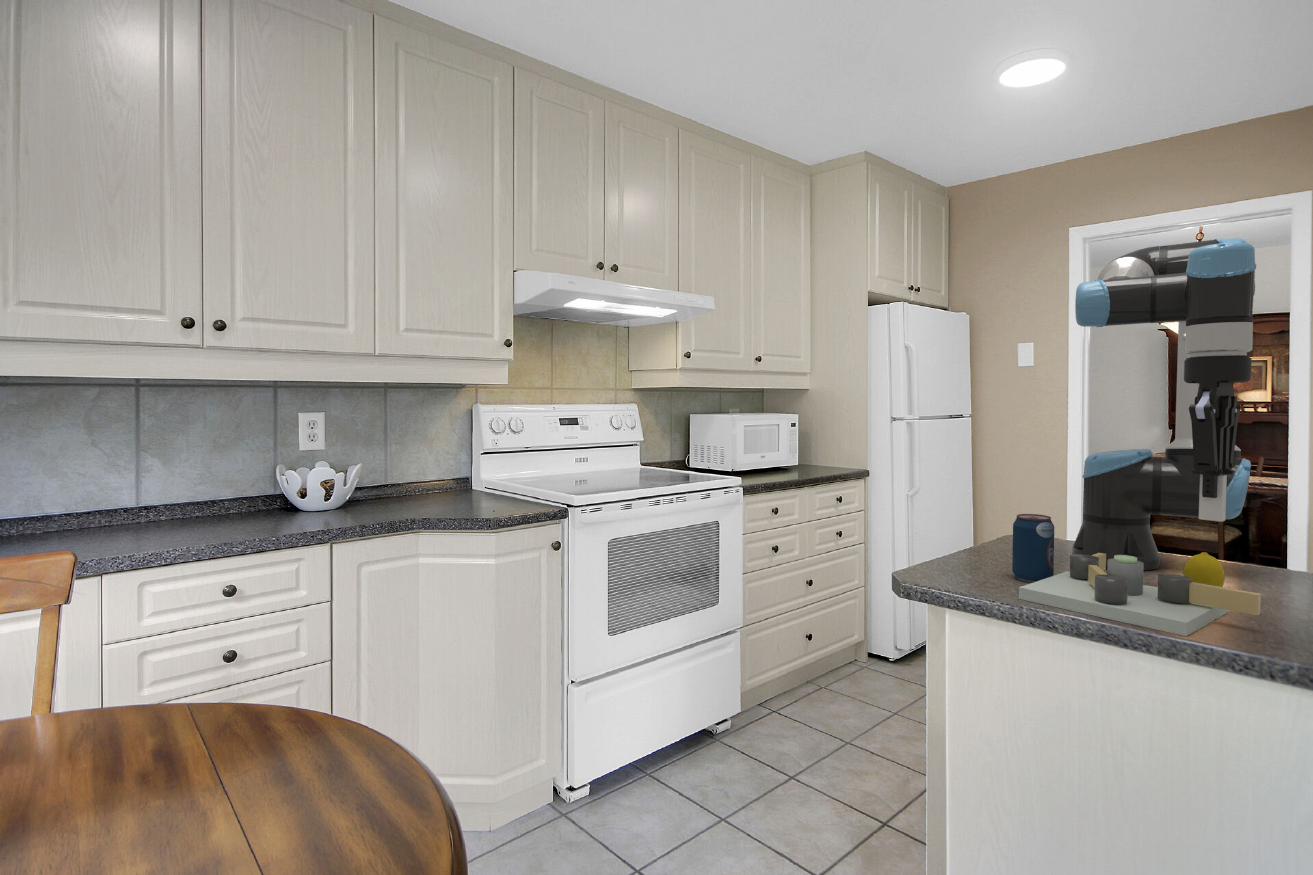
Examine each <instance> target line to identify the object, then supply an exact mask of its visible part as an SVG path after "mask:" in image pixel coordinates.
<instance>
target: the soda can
mask: <svg viewBox="0 0 1313 875" xmlns="http://www.w3.org/2000/svg"><path fill="white" fill-rule="evenodd" d="M1011 550H1012V553H1011V554H1012V555H1011V556H1012V561H1011V570H1012V573H1013V575H1014V577H1015V578H1016V579H1017V580H1019V581H1022V582H1027V583H1033V582H1037V581H1040V580H1043V579H1046V578H1049V577H1052V576H1054V571H1055V570H1054V569H1055V566H1054V565H1055V564H1054V562H1055V525H1054V523H1053V521H1052V517H1051V516H1049V515H1046V514H1045V515H1044V514H1039V513H1037V514H1036V513H1021V514H1016V519H1015V520H1014V522H1013V524H1012V549H1011Z"/></svg>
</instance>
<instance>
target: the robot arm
mask: <svg viewBox="0 0 1313 875" xmlns="http://www.w3.org/2000/svg"><path fill="white" fill-rule="evenodd" d="M1255 251H1256V250H1255V246H1253V245H1252V244H1251V243H1248V242H1247V241H1246V240H1245V239H1243V238H1239V237H1238V238H1223V239H1220V238H1214V239H1211V240H1201V241H1195V242H1194V241H1193V242H1187V243H1186V242H1185V243H1177V244H1167V245H1161V246H1160V245H1156V246H1155V245H1154V246H1149V247H1145V248H1140V249H1137V250H1134V251H1132V252H1131V251H1130V252H1129V253H1126V254H1124V255H1121V256H1119V257H1117V258H1115V259H1113V260H1112V261H1110V262H1109V263H1107V264H1106V265H1105V266H1104V267H1103V268H1102V269H1101V271H1100V272H1099V274H1098V276H1097V279H1095V280H1093V281H1085V282H1084V281H1083V282H1081V283H1079V284H1078V286H1077V287H1076V291H1075V300H1074V301H1075V304H1074V305H1075V308H1074V309H1075V310H1074V311H1075V312H1074V313H1075V321H1076V323H1077V325H1078V326H1080V327H1086V328H1087V327H1089V328H1090V327H1097V328H1103V327H1107V326H1109V327H1110V326H1123V325H1125V326H1126V325H1127V326H1128V325H1138V324H1161V323H1162V324H1163V323H1178V329H1177V330H1178V333H1177V336H1178V337H1177V364H1176V365H1177V367H1176V368H1177V369H1176V370H1177V371H1176V395H1175V396H1176V399H1175V400H1176V401H1175V430H1174V431H1175V434H1174V436H1175V438H1174V439H1173V441H1172V442H1171V443H1169V445H1167V446H1166V447H1165V452H1164V453H1165V456H1154V453H1153V452H1152V450H1151V449H1149V448H1140V449H1139V448H1138V449H1135V448H1133V449H1120V450H1119V449H1118V450H1109V451H1103V452H1102V451H1100V452H1096V453H1091V454H1090V455H1088V456H1086V458H1085V460H1084V464H1083V465H1084V467H1083V474H1082V479H1083V496H1082V523H1081V525H1080V529H1079V530H1078V533H1077V536H1076V538H1075V541H1074V543H1073V545H1072V549H1071V550H1072V551H1071V555H1073V554H1083V555H1094V554H1097V553H1104V554H1106V569H1107V566H1108V559H1113V558H1114V556H1115V555H1128V556H1134V557H1136V558H1137V561H1140V562H1142V563H1144V571H1151V570H1156V569H1158V568H1160V554H1159V550H1158V548H1157V545H1156V542H1155V539H1154V537H1153V533H1152V531H1151V521H1150V520H1151V515H1155V516H1157V515H1158V516H1165V517H1167V516H1169V517H1184V518H1195V519H1199V520H1201V521H1202V520H1204V521H1213V522H1225V521H1226V520H1232V519H1235V518H1237V517H1238V516H1240V514H1241V513H1242V510H1243V507H1244V505H1245V501H1246V497H1247V492H1248V488H1249V483H1250V482H1249V481H1250V478H1251V477H1250V476H1251V473H1250V472H1251V468H1252V463H1251V461H1250V460H1249V459H1246V458H1241V456H1242V453H1241V452H1242V451H1241V449H1240V447H1238V446H1237V445H1236V440H1237V430H1238V422H1239V418H1240V413H1241V410H1242V405H1241V403H1238V397H1237V396H1236V395H1235V388H1234V383H1236V384H1237V383H1238V384H1239V383H1240V384H1241V383H1249V381H1251V379H1252V360H1253V359H1252V358H1251V356H1250V355H1248V354H1247V353H1250V352H1251V351H1253V342H1254V341H1253V336H1254V334H1253V333H1254V332H1253V331H1254V321H1253V310H1254V296H1255V295H1256V293H1255V292H1256V281H1255V278H1256V277H1255V275H1256V274H1255V273H1256V272H1255V271H1256V269H1257V263H1256V253H1255Z"/></svg>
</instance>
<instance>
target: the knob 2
mask: <svg viewBox="0 0 1313 875" xmlns="http://www.w3.org/2000/svg"><path fill="white" fill-rule="evenodd" d="M1157 587H1158V593H1157V597H1158V598H1159V599H1161V600H1164V601H1168V602H1174V603H1195V604H1201V605H1206V606H1211V607H1216V608H1222V609H1227V610H1228V611H1233V612H1237V613H1243V614H1249V615H1252V616H1253V615H1254V616H1259V615H1261V601H1262V600H1261V598H1262V593H1257V592H1252V591H1248V590H1241V589H1235V588H1230V587H1224V586H1223V587H1219V586H1213V585H1207V584H1201V583H1195V582H1192V578H1190V577H1186V576H1183V574H1182V575H1181V574H1174V573H1160V574H1158V575H1157Z"/></svg>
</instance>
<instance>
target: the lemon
mask: <svg viewBox="0 0 1313 875" xmlns="http://www.w3.org/2000/svg"><path fill="white" fill-rule="evenodd" d="M1182 573H1183V574H1182V576H1186V577H1190V578H1192V582H1195V583H1201V584H1207V585H1213V586H1219V587H1224V583H1225V580H1226V578H1225V576H1226V575H1225V570H1224V567H1223V565H1222V564H1221V562H1220V561H1219V560H1218V559H1217V558H1216V557H1214V556H1212V555H1210V554H1209V553H1208V552H1201V553H1198V554H1195V555H1193V556H1191V557H1189V558H1188V559H1187V560H1186V562H1185V564H1184V567H1183V572H1182Z"/></svg>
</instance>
